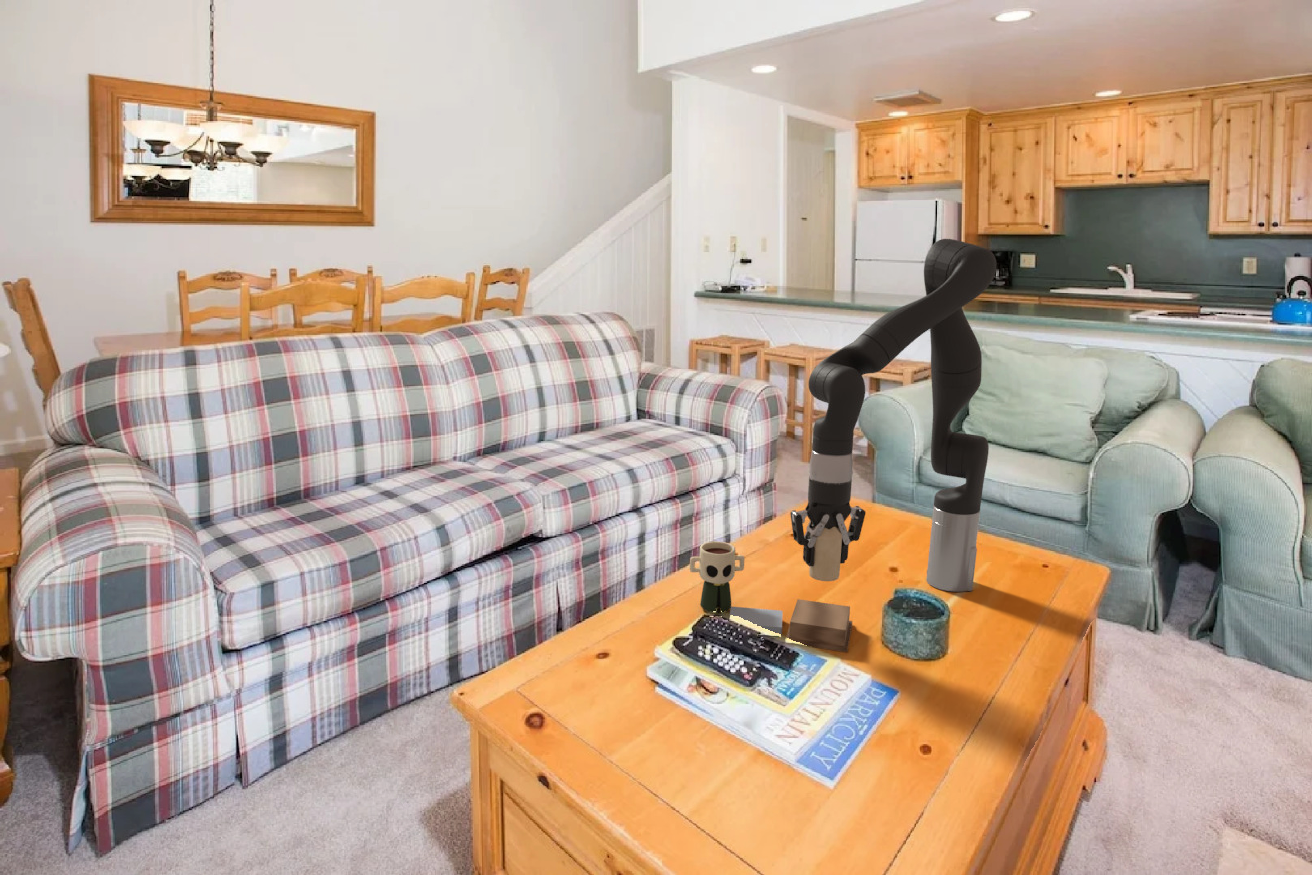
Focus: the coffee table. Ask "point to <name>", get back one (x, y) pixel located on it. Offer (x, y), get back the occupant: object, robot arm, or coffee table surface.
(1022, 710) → the coffee table surface
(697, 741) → the coffee table surface
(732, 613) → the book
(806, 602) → the stand
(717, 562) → the character mug
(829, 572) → the candle
